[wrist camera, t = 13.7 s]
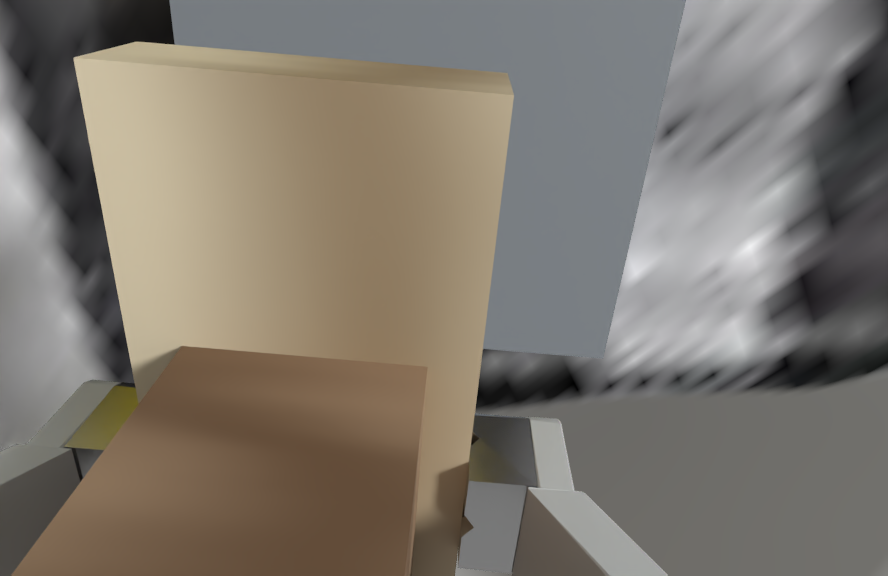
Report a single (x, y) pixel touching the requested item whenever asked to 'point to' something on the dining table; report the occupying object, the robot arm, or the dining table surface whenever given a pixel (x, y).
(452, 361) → the tan stepped block
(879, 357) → the dining table surface
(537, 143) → the dock
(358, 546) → the brown box
